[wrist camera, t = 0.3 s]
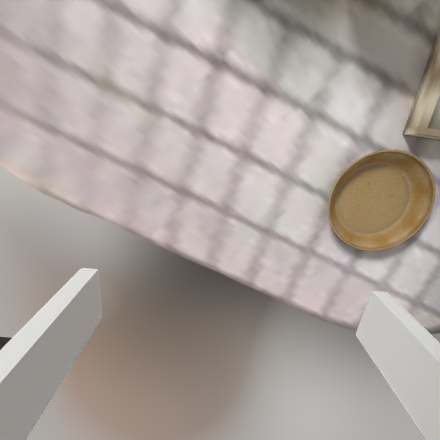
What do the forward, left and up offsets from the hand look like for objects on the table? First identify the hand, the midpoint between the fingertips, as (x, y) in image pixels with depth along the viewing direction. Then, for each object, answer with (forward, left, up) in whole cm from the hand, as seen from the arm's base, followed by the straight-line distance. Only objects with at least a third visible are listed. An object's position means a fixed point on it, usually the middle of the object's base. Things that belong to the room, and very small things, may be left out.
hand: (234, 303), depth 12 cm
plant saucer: (-2, +21, -27) cm, 35 cm away
